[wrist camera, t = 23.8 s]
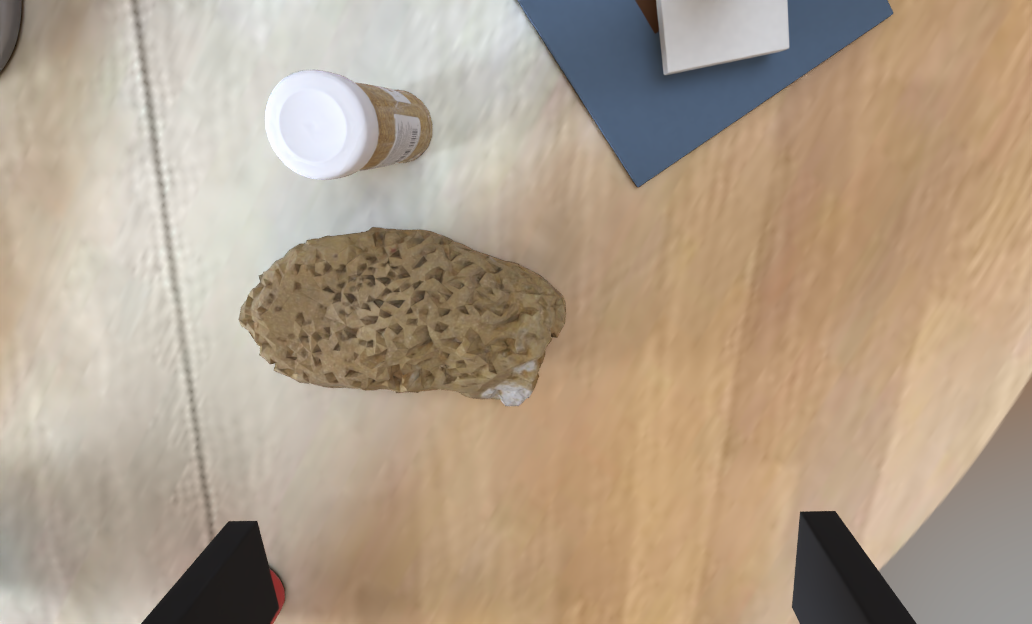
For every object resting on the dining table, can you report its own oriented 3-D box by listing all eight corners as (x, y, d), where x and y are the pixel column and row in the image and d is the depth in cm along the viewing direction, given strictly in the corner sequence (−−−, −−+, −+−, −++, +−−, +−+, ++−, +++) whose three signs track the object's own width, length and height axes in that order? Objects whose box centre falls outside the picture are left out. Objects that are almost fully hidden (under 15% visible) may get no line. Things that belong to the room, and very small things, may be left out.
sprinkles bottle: (403, 75, 36) (315, 43, 23) (448, 135, 37) (387, 137, 24) (351, 120, 37) (239, 114, 24) (395, 178, 38) (310, 202, 25)
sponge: (567, 255, 40) (275, 161, 35) (585, 314, 33) (227, 208, 28) (504, 393, 46) (249, 328, 41) (508, 466, 39) (204, 398, 35)
